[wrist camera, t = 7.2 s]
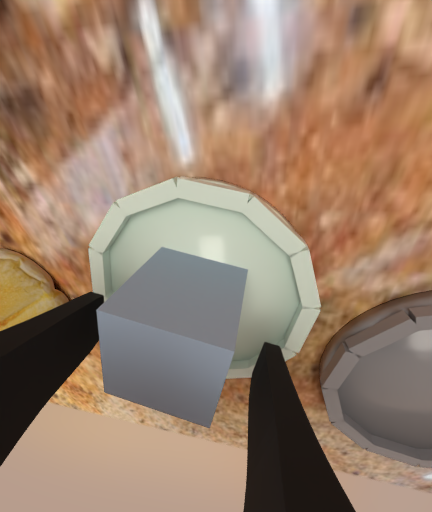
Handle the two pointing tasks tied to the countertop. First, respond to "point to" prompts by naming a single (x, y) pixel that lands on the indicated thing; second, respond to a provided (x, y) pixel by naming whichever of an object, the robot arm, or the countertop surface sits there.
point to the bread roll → (24, 289)
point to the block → (172, 334)
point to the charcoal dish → (384, 379)
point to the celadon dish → (217, 256)
